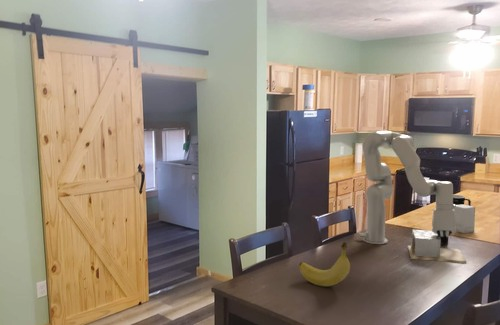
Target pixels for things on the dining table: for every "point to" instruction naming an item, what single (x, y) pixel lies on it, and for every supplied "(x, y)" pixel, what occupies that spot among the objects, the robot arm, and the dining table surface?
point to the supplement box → (465, 218)
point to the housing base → (441, 255)
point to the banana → (327, 271)
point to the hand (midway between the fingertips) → (444, 244)
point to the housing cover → (426, 243)
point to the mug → (460, 200)
